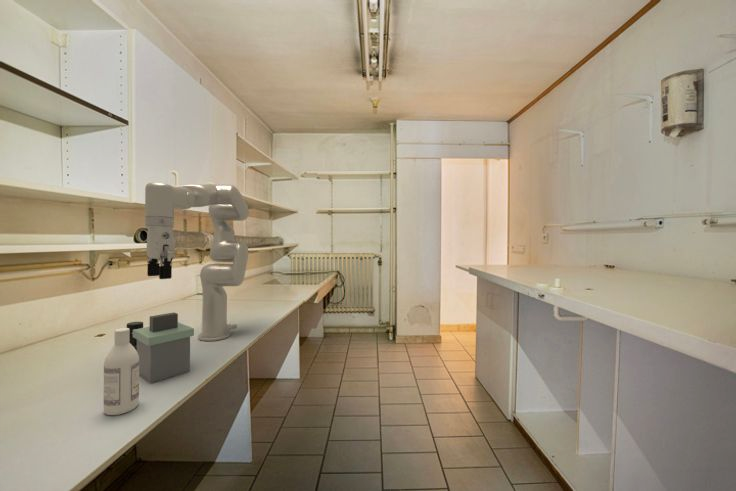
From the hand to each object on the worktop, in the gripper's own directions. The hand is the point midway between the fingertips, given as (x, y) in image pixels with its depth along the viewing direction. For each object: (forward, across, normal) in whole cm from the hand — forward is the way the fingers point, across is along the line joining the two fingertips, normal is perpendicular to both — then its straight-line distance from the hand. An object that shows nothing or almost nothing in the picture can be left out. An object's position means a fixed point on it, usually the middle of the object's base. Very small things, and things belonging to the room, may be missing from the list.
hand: (159, 277), depth 98 cm
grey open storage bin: (+30, -1, -1) cm, 30 cm away
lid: (+19, -1, -1) cm, 19 cm away
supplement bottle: (+31, +21, +1) cm, 37 cm away
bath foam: (+31, -17, +14) cm, 37 cm away
